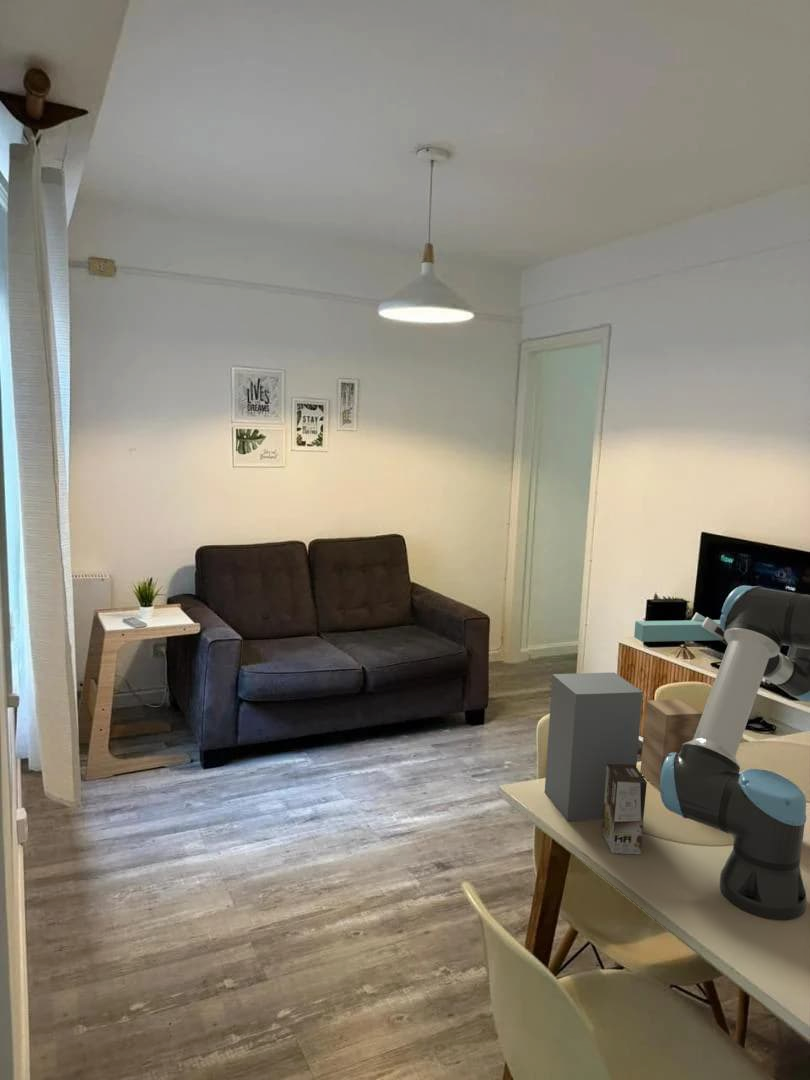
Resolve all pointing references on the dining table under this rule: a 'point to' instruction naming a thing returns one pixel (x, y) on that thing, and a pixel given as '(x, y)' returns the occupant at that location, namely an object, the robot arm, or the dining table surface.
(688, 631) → the teal bar
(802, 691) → the robot arm
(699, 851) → the dining table surface
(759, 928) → the dining table surface
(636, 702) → the tall stand
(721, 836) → the dining table surface
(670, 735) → the walnut pedestal
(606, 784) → the coffee box
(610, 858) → the dining table surface
